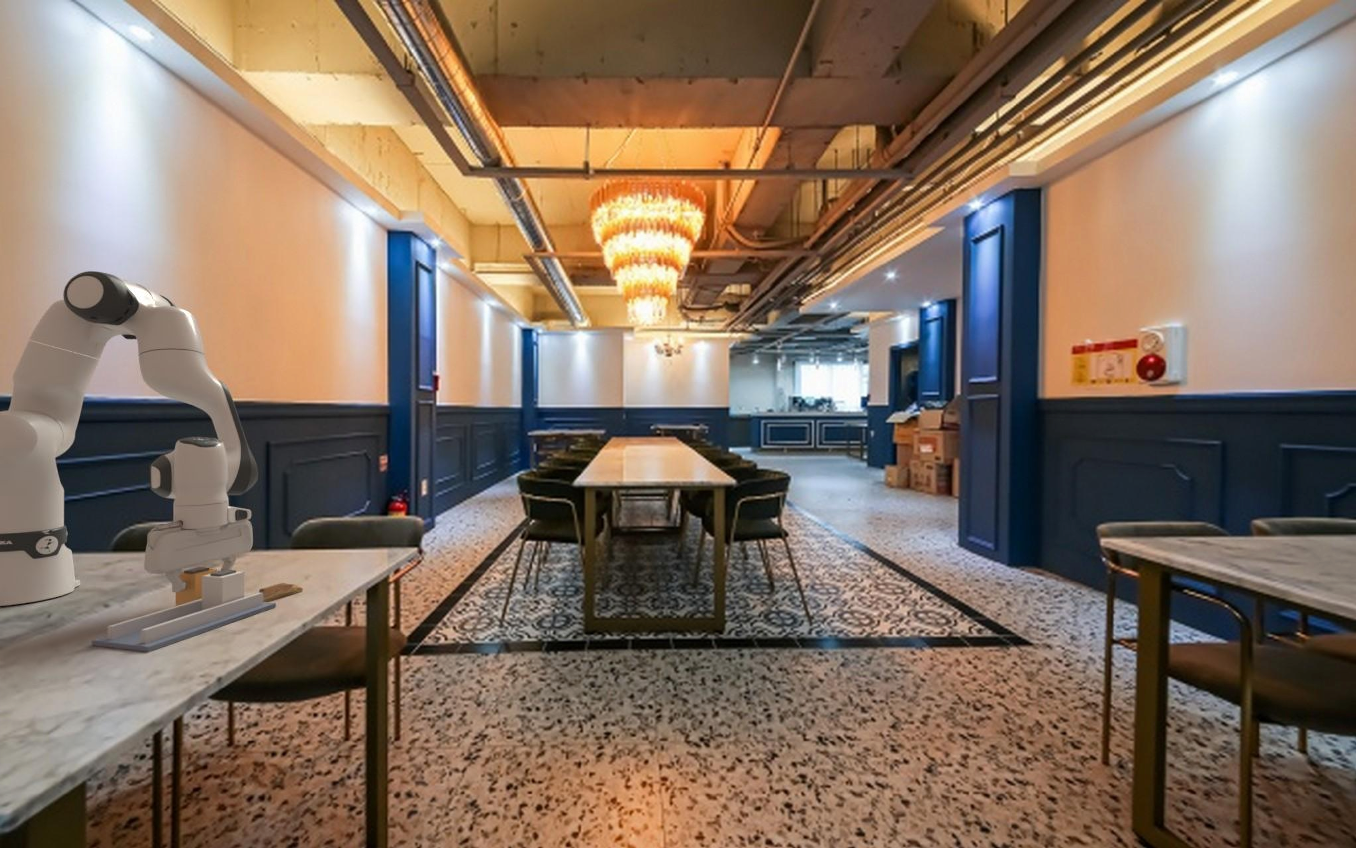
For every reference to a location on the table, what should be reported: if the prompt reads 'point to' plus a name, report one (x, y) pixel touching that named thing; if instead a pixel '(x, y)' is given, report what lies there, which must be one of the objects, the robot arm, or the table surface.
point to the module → (192, 584)
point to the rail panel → (188, 615)
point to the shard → (279, 591)
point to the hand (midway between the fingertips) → (202, 584)
